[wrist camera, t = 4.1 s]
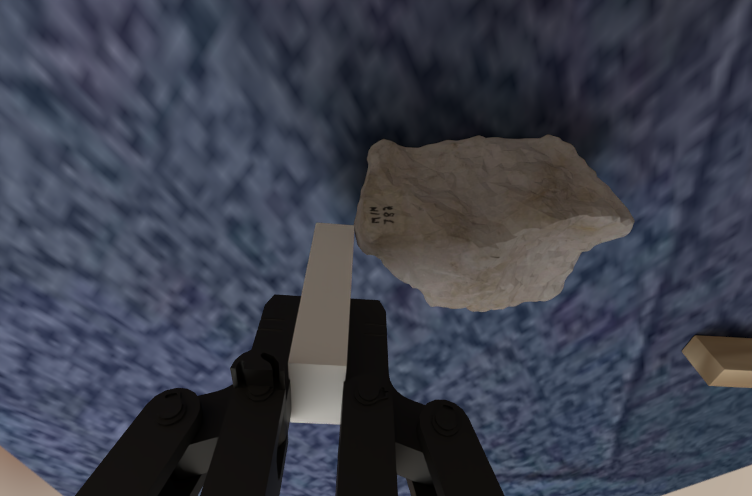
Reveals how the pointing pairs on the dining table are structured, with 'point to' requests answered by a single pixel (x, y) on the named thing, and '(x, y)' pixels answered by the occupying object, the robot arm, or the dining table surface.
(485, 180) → the stone
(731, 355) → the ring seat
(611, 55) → the dining table surface
